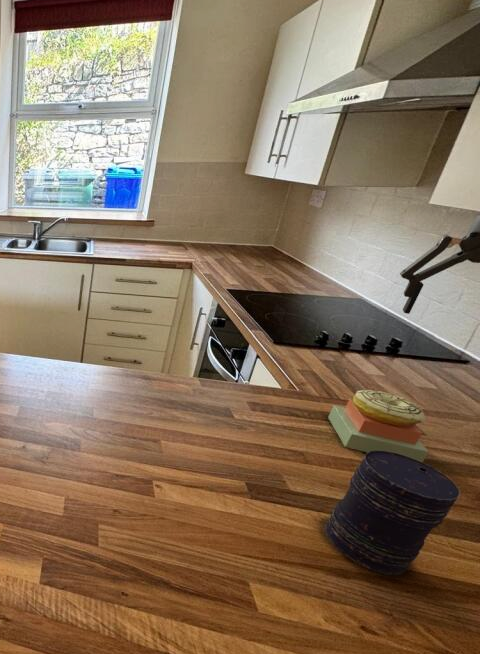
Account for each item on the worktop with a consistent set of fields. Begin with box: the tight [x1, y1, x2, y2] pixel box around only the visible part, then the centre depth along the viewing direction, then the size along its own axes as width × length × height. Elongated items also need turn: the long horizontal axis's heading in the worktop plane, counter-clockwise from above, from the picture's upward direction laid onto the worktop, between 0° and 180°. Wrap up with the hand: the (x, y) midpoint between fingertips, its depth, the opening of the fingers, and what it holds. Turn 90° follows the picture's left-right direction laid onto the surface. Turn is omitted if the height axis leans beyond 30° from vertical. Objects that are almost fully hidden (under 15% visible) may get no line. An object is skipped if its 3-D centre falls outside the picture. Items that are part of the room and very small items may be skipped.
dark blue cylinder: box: [324, 451, 461, 576], centre depth 60 cm, size 10×10×15 cm
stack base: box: [327, 404, 430, 463], centre depth 87 cm, size 12×12×4 cm
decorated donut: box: [352, 389, 426, 426], centre depth 84 cm, size 10×11×4 cm
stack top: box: [345, 398, 423, 445], centre depth 86 cm, size 9×9×3 cm
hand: (451, 319), depth 83 cm, fingers open, 13 cm apart
